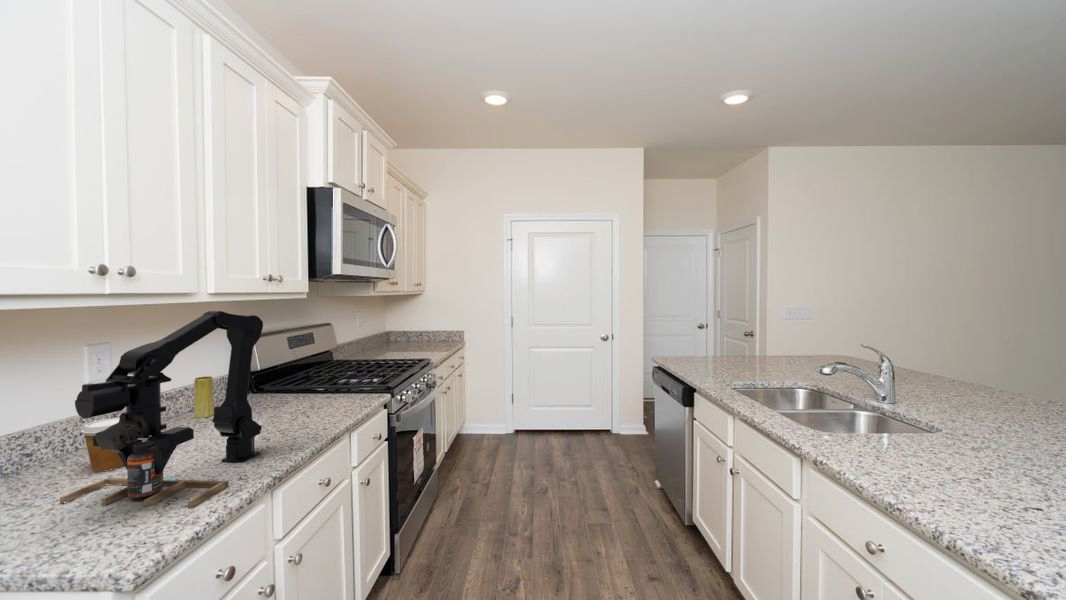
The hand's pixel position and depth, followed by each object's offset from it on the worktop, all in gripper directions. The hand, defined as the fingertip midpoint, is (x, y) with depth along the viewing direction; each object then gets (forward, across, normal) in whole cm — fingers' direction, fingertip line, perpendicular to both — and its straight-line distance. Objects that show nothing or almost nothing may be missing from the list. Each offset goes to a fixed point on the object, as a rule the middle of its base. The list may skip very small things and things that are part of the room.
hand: (145, 474), depth 94 cm
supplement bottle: (+4, 0, 0) cm, 4 cm away
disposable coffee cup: (+5, -25, +14) cm, 29 cm away
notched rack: (+5, 0, 0) cm, 5 cm away
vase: (+5, -39, +59) cm, 71 cm away
